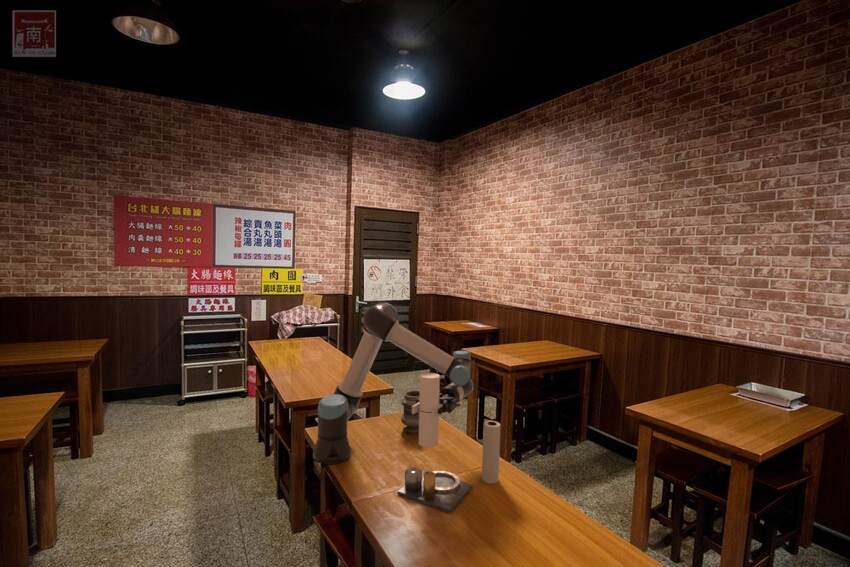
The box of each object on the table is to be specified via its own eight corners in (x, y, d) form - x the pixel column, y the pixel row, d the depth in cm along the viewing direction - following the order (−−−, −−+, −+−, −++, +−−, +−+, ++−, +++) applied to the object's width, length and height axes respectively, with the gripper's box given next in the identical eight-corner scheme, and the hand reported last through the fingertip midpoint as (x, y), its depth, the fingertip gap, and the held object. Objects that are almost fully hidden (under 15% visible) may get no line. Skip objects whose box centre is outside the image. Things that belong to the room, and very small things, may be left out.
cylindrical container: (415, 444, 150) (416, 376, 149) (424, 437, 157) (425, 371, 155) (433, 449, 147) (434, 379, 146) (441, 441, 153) (442, 374, 152)
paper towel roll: (498, 485, 150) (500, 427, 149) (481, 483, 151) (483, 425, 150) (498, 475, 157) (500, 419, 156) (482, 473, 158) (484, 418, 157)
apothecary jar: (396, 433, 193) (397, 395, 192) (405, 424, 204) (406, 388, 203) (421, 437, 189) (422, 398, 188) (429, 427, 201) (430, 390, 200)
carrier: (396, 494, 143) (397, 470, 142) (425, 470, 160) (425, 449, 159) (450, 513, 133) (450, 488, 132) (474, 486, 149) (475, 463, 149)
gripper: (474, 408, 162) (447, 428, 142) (428, 399, 172) (398, 417, 152) (474, 389, 162) (448, 407, 142) (429, 381, 171) (398, 396, 152)
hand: (422, 412), depth 147 cm, fingers closed on cylindrical container, 7 cm apart
